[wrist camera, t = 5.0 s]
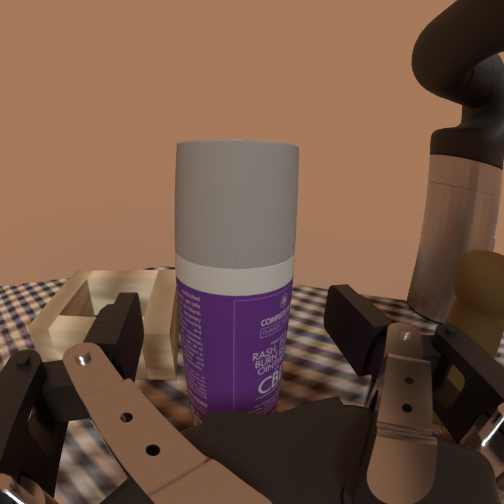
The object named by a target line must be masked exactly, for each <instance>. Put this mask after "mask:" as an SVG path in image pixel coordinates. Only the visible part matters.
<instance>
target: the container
mask: <svg viewBox="0 0 504 504" xmlns="http://www.w3.org/2000/svg"><path fill="white" fill-rule="evenodd" d="M176 153H177V154H176V177H175V179H176V180H175V268H176V272H175V273H176V288H177V301H178V312H179V323H180V332H181V342H182V350H183V358H184V366H185V374H186V381H187V388H188V394H189V401H190V407H191V413H192V419H193V424H194V426H195V425H199V424H202V415H201V414H210V413H227V412H245V413H257V414H276V409H277V402H278V396H279V389H280V382H281V375H282V368H283V361H284V353H285V345H286V337H287V329H288V321H289V312H290V303H291V294H292V285H293V271H294V255H295V237H296V218H297V217H296V215H297V194H298V163H299V162H298V161H299V147H298V146H296V145H292V144H287V143H278V142H269V141H256V140H230V139H226V140H195V141H186V142H180V143H178V144H177V152H176Z"/></svg>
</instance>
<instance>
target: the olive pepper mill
mask: <svg viewBox="0 0 504 504" xmlns="http://www.w3.org/2000/svg"><path fill="white" fill-rule="evenodd" d="M454 291H455V295H456V300H455V302H454V305H453V307H452V309H451V311H450V313H449V315H448V317H447V319H446V321H445V323H444V324H451V325H454V326H457V327H458V328H460V329H461V330H462V331H464V332H465V333H466V334H467V335H468V336H469V337H471V338H472V339H473V340H474V341H475V342H476V343H477V344H479V345H480V346H481V347H482V348H483V349H484V350H485V351H486V352H487V353H489V354H490V355H491V356H492V357H493V358H494V359H495V356H496V353H497V350H498V347H499V344H500V341H501V338H502V334H503V331H504V256H503V255H501V254H498V253H494V252H491V251H485V250H473V251H470V252H467V253H466V254H465V255H464V256H463V257H462V258H461V260H460V262H459V264H458V266H457V269H456V272H455V276H454ZM447 378H448V379H449V380H450V381H451V382H452V383H453V384H454V385H455V387H456V388H457V389H458V390H459V391H460V392H461V390H462V388H463V387H464V383H465V379H464V376H463V374H462V373H461V372H460V371H459V370H458V369H457V368H456V367H455V366H454V365H453V366H452V369H451V371H450V373H449V375H448V376H447ZM432 422H434V423H436V424H443V423H442V422H441V420H440V419H439V418H438V416H437V415H436V413H435V412H434V411H433V409H432ZM443 425H444V424H443Z"/></svg>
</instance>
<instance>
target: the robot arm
mask: <svg viewBox="0 0 504 504" xmlns="http://www.w3.org/2000/svg"><path fill="white" fill-rule="evenodd" d="M503 51H504V0H457V1H455V2H454V3H453V4H452V5H451V6H449V7H448V8H447V9H446V10H444V11H443V12H442V13H441V14H439V15H438V16H437V17H436V18H435V19H434V20H432V21H431V22H430V23H429V24H428V25H427V26H426V28H425V29H424V30H423V31H422V33H421V34H420V35H419V37H418V39H417V41H416V43H415V46H414V49H413V53H412V70H413V73H414V75H415V77H416V79H417V81H418V82H419V83H420V85H421V86H423V87H424V88H425V89H426V90H428V91H430V92H431V93H433V94H435V95H437V96H439V97H442V98H445V99H448V100H450V101H453V102H455V103H458V104H461V105H462V120H461V123H460V125H459V126H457V127H453V128H444V129H438V130H436V131H434V132H433V134H432V136H431V142H430V162H429V175H428V188H427V196H426V205H425V213H424V220H423V226H422V232H421V238H420V244H419V249H418V254H417V259H416V264H415V268H414V272H413V277H412V281H411V286H410V289H409V293H408V298H407V300H408V303H409V305H410V306H411V307H412V308H413V309H414V310H415V311H416V312H418V313H419V314H421V315H423V316H424V317H426V318H428V319H431V320H433V321H436V322H440V323H445V321H446V319H447V317H448V315H449V313H450V311H451V309H452V307H453V305H454V302H455V300H456V295H455V291H454V276H455V272H456V269H457V266H458V264H459V262H460V260H461V258H462V257H463V256H464V255H465V254H466V253H467V252H470V251H473V250H485V251H491V252H493V249H494V244H495V239H494V235H495V229H496V224H497V218H498V211H499V203H500V194H501V185H502V172H503V171H502V170H503V160H504V64H503V62H502V60H501V58H500V56H499V55H498V53H500V52H503ZM324 327H325V329H326V331H327V333H328V334H329V335H330V337H331V338H332V340H333V341H334V342H335V344H336V345H337V347H338V348H339V350H340V351H341V352H342V354H343V355H344V357H345V358H346V359H347V361H348V362H349V364H350V365H351V367H352V368H353V369H354V371H355V372H356V374H357V375H358V377H361V376H365V375H369V374H371V376H372V377H371V379H370V382H369V386H368V390H367V394H366V398H365V402H364V406H363V407H361V406H355V405H343V403H342V402H341V400H340V398H339V396H337V397H332V398H328V399H323V400H318V401H313V402H308V403H305V404H303V405H300V406H298V407H295V408H293V409H290V410H287V411H285V412H282V413H279V414H257V413H245V412H227V413H210V414H201V415H202V424H199V425H195V426H192V427H189V428H187V429H185V430H182V431H180V432H178V431H177V430H176V429H175V428H174V427H173V426H172V424H171V423H170V422H169V421H168V420H167V419H166V418H165V417H164V416H163V415H162V414H161V413H160V412H159V411H158V410H157V409H156V408H155V406H154V405H153V404H152V403H151V402H150V401H149V400H148V399H147V398H146V396H145V395H144V394H143V393H142V392H141V391H140V389H139V388H138V387H137V386H136V385H135V383H134V382H135V377H136V372H137V367H138V363H139V358H140V354H141V350H142V345H143V341H144V325H143V319H142V313H141V306H140V299H139V295H138V293H137V292H120V293H119V294H118V296H117V298H116V300H115V302H114V304H107V305H106V306H105V307H103V308H102V309H101V310H100V311H99V313H98V315H97V316H96V319H95V320H94V322H93V325H92V326H91V328H90V330H89V331H88V333H87V335H86V337H85V339H84V341H83V343H79V344H75V345H73V346H71V347H70V348H68V349H67V350H66V351H65V353H64V354H63V359H62V360H56V361H48V362H43V361H42V358H41V356H40V354H39V353H38V352H36V351H34V350H22V351H19V352H17V353H15V354H14V355H12V356H11V357H10V358H9V360H8V361H7V363H6V365H5V366H4V368H3V370H2V371H1V373H0V504H59V503H58V502H57V501H56V500H55V499H54V494H55V487H56V480H57V474H58V468H59V463H60V458H61V453H62V448H63V444H64V439H65V435H66V431H67V427H68V423H69V421H73V420H81V419H88V418H89V419H90V421H91V423H92V424H93V426H94V428H95V429H96V431H97V433H98V434H99V436H100V437H101V439H102V441H103V442H104V444H105V445H106V447H107V448H108V450H109V451H110V453H111V454H112V456H113V457H114V459H115V460H116V462H117V463H118V465H119V466H120V468H121V469H122V470H123V472H124V473H125V475H126V476H127V477H128V478H127V479H126V480H125V481H124V482H123V483H122V484H121V485H120V486H119V487H118V488H117V489H115V490H114V491H113V492H112V493H111V494H110V495H109V496H108V497H106V498H105V499H104V500H103V501H102V502H101V503H100V504H501V501H500V498H499V495H498V491H497V486H496V483H497V482H499V481H500V480H501V479H502V478H503V477H504V367H503V366H502V365H500V364H499V363H498V362H497V361H496V360H495V359H494V358H493V357H492V356H491V355H490V354H489V353H487V352H486V351H485V350H484V349H483V348H482V347H481V346H480V345H479V344H477V343H476V342H475V341H474V340H473V339H472V338H471V337H469V336H468V335H467V334H466V333H465V332H464V331H462V330H461V329H460V328H458V327H457V326H454V325H451V324H439V325H438V326H437V327H436V330H435V333H434V335H421V333H420V331H419V330H418V329H417V328H415V327H414V326H412V325H410V324H406V323H393V322H392V321H391V320H390V319H389V318H388V317H387V316H386V315H385V314H384V313H382V312H381V311H379V309H378V308H377V307H376V306H374V304H373V303H372V302H370V301H369V300H368V299H367V298H365V297H363V296H361V295H359V294H357V293H356V292H355V291H354V290H353V289H352V288H351V287H350V286H349V285H347V284H345V285H332V286H330V288H329V290H328V295H327V301H326V307H325V313H324ZM453 365H454V366H455V367H456V368H457V369H458V370H459V371H460V372H461V373H462V374H463V376H464V379H465V383H464V387H463V388H462V390H461V392H460V391H459V390H458V389H457V388H456V387H455V385H454V384H453V383H452V382H451V381H450V380H449V379H448V378H447V376H448V375H449V373H450V371H451V369H452V366H453ZM432 409H433V411H434V412H435V413H436V415H437V416H438V418H439V419H440V420H441V422H442V423H443V424H444V426H445V427H446V429H447V430H448V431H449V433H450V434H451V436H452V437H453V438H454V440H455V441H456V443H454V442H451V441H449V440H446V439H443V438H440V437H438V436H435V435H433V433H432ZM31 411H32V413H31ZM30 413H31V415H30ZM29 416H30V418H29ZM28 419H29V421H28Z"/></svg>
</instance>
